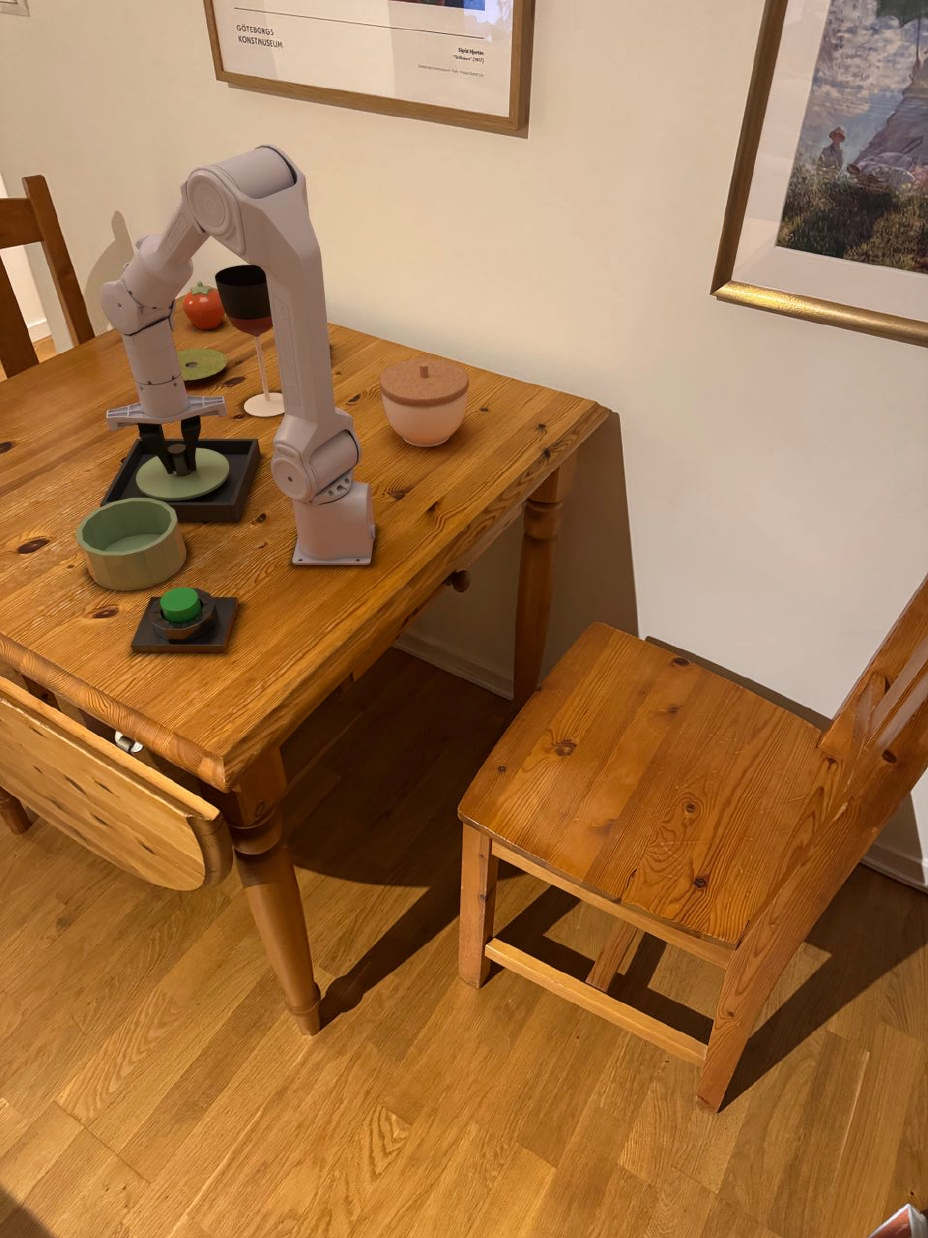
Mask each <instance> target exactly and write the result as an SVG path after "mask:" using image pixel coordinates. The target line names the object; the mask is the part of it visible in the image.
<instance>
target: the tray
mask: <svg viewBox="0 0 928 1238" xmlns="http://www.w3.org/2000/svg"><path fill="white" fill-rule="evenodd" d="M165 441H166V445H167V447H168V448H169V447H170V446H172V445H174V444H183V445H185V442H184V439H183V438H165ZM185 446H186V445H185ZM196 448H203V449H209V450H212V451H215V452H218V453H220V454H221V455H223V456H224V457H225V458H226V459H227V461H228V463H229V467H230V472H229V476H228V478H227V479H226V480H225V482H224V483H223V484H222V485H220V486H219V487H218V488H216V489H215V490H213V491H211V492H209V493H207V494H205V495H202V496H199V497H196V498H192V499H187V500H179V501H166V500H159V499H155V498H152V499H155V500H159V501H163V502H165V503H167V504H168V505H169V506H171V507H172V508H173V509H174V510H175V512H176V516H177V519H178V523H239V521H240V518H241V515H242V512H243V509H244V506H245V504H246V501H247V498H248V494H249V493H250V489H251V486H252V483H253V480H254V477H255V475H256V472H257V468H258V466H259V462H260V460H261V457H262V453H261V448H260V443H259V439H258V438H198V442H197V447H196ZM156 456H157V455H156V454H155V453H154V451H153V450H152V449H151V448H150V447H149V446H148V445H147V444H146V443H144V442H143V441H142V439H141V438H136V439H135V441H134V442H133V444H132V445H131V447H130V450H129V451H128V453H127V455H126V457H125V458H124V460H123V462H122V464H121V465H120V467H119V469H118V471H117V473H116V474H115V476H114V479H113V480H112V482H111V484H110V485H109V487H108V489H107V491H106V492H105V494H104V496H103V498H102V500H101V501H100V503H99V508H100V507H102V506H105V505H107V504H109V503H112V502H115V501H119V500H124V499H129V498H151V497H149V496H147V495H145V494H144V493H142V492H141V491H140V489H139V488H138V486H137V483H136V476H137V473H138V471H139V469H140V468H141V467H142V466H143V465H144V464H145V463H146V462H148V461H149V460H151V459H152V458H154V457H156Z"/></svg>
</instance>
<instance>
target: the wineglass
mask: <svg viewBox="0 0 928 1238" xmlns="http://www.w3.org/2000/svg"><path fill="white" fill-rule="evenodd" d="M214 281H215V284H216V290H217V291H218V293H219V296H220V300H221V303H222V306H223V308H224V311H225V316H226V318H227V319H228V321H229V323H230V324H231V326H232V327H233V328H235V329H236V330H238V331H240V332H242V333H245V334H248V335H250V336H253V338H254V344H255V350H256V356H257V362H258V368H259V372H260V378H261V384H262V390H263V393H260V394H257V395H253V396H252V397H249V398H248V399H247V400H246V401H245V403H244V405H243V409H244V411H245V412H246V413H247V414H249V415H251V416H257V417H273V416H278V415H281V414H283V413H285V411H284V403H283V396H282V393H280V392H270V391H269V385H268V380H267V373H266V367H265V361H264V355H263V350H262V344H261V337H260V336H261V335H262V334H265V333H266V332H268V331H270V330H271V329H273V323H272V315H271V308H270V301H269V293H268V286H267V279H266V274H265V272H264V270H263V269H262V268H261V267H260V266H257V265H251V264H239V265H233V266H228V267H225V268H223V269H221V270H219V271H217V272H216V273H215V274H214Z"/></svg>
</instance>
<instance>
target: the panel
mask: <svg viewBox="0 0 928 1238" xmlns="http://www.w3.org/2000/svg"><path fill="white" fill-rule="evenodd" d="M190 588H191V589H193V590H195V591H196V592H197V594H198V597H199V601H200V604H201V610H200V612H199V614H198V615H197V616H196V617H195V618H193V619H191V620H188V621H185V622H171V621H169V620H167V619H166V618H165V616H164V614H163V610H162V607H161V604H160V600H161V598H162V596H163V595H164V594H162V595H161V596H150V598H149V601H148V603H147V605H146V607H145V609H144V612H143V615H142V617H141V620H140V622H139V624H138V626H137V629H136V631H135V634H134V636H133V638H132V640H131V643H130V648H131V650H132V653H134V654H135V653H141V654H142V653H144V654H145V653H148V654H149V653H152V654H153V653H154V654H155V653H158V654H159V653H161V654H162V653H163V654H164V653H165V654H166V653H168V654H169V653H170V654H171V653H173V654H175V653H176V654H177V653H179V654H181V653H182V654H185V653H187V654H188V653H189V654H209V653H210V654H221V653H222V654H225V652H226V649H227V646H228V643H229V640H230V637H231V633H232V629H233V626H234V624H235V620H236V618H237V614H238V610H239V607H240V602H239V598H238V597H237V596H212V594H211V593H210V592H207V591H205V590H203V589H200V588H199V587H190Z"/></svg>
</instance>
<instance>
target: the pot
mask: <svg viewBox="0 0 928 1238" xmlns="http://www.w3.org/2000/svg"><path fill="white" fill-rule="evenodd" d="M75 535H76V542H77V545H78V547H79V550H80V553H81V555H82V558H83V560H84V563H85V566H86V568H87V571H88V573H89V575H90V577H91V578H92V579H93V581H94V582H95V583H96V584H98V585H99V586H101V587H103V588H104V589H105V588H106V589H109V590H113V591H120V592H121V591H123V592H124V591H125V592H128V591H130V592H131V591H138V590H143V589H147V588H151V587H153V586H157V585H159V584H161V583H163V582H165V581H167V580H169V579H170V578H171V577H173V576H174V575H175V574H176V573H177V572H179V570H180V569H181V568H182V567H183V565H184V563H185V561H186V560H187V548H186V545H185V540H184V537H183V533H182V530H181V527H180V522H178V519H177V516H176V512H175V510H174V509H173V508H172V507H171V506H169V505H168V504H167V503H165V502H163V501H159V500H155V499H152V498H129V499H124V500H119V501H115V502H112V503H109V504H107V505H105V506H102V507H100V506H99V507H98V508H96V509H94V510H93V511H92V512H89V514H88V515H86V516H84V518H83V519H82V520H81V522H80V523H79V525H78V526H77V529H76V531H75Z"/></svg>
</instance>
